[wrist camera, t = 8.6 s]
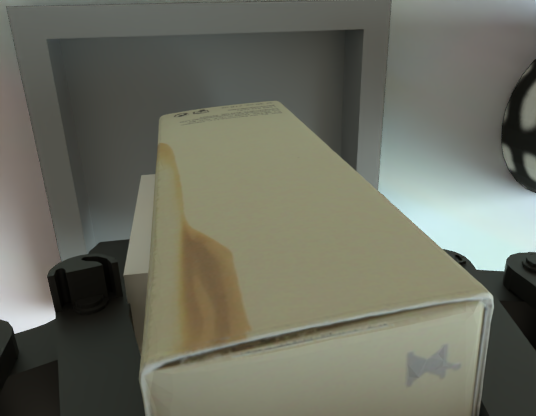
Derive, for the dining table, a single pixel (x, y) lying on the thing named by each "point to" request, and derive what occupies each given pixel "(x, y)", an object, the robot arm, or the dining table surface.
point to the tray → (186, 89)
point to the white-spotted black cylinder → (521, 130)
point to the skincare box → (296, 283)
